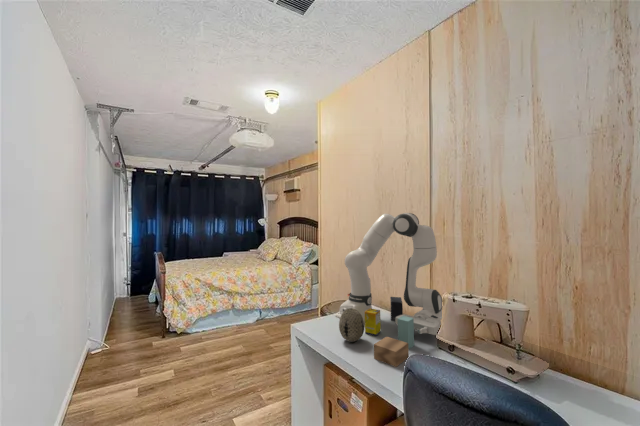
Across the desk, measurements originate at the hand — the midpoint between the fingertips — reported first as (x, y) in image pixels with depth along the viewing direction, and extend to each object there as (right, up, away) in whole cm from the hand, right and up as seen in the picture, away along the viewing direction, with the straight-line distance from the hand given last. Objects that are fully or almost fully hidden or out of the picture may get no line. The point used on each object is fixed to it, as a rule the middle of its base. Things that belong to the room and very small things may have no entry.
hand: (409, 329), depth 131 cm
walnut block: (-11, -7, -13) cm, 18 cm away
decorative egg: (-25, -7, +4) cm, 27 cm away
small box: (+3, -7, +33) cm, 33 cm away
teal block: (-2, -6, -2) cm, 7 cm away
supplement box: (-14, -7, +13) cm, 20 cm away
